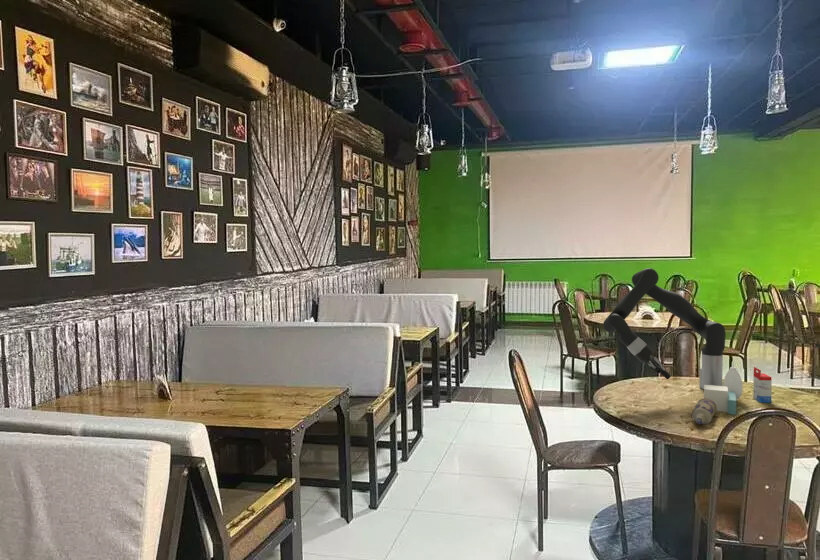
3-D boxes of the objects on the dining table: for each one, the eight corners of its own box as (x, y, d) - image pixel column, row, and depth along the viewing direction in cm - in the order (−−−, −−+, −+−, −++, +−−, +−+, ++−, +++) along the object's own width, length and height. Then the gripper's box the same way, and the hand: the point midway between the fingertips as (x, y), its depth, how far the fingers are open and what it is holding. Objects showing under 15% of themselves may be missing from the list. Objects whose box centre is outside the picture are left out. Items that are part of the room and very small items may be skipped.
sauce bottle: (741, 399, 267) (742, 360, 266) (743, 403, 260) (743, 363, 259) (722, 398, 270) (722, 359, 269) (723, 402, 263) (723, 362, 262)
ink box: (771, 403, 260) (772, 370, 259) (759, 402, 261) (760, 370, 260) (764, 398, 269) (764, 366, 268) (752, 397, 270) (753, 366, 269)
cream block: (703, 409, 252) (704, 389, 251) (704, 404, 260) (704, 384, 259) (727, 412, 248) (727, 391, 247) (727, 406, 256) (727, 386, 255)
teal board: (727, 413, 245) (728, 399, 244) (726, 404, 259) (727, 391, 259) (736, 414, 243) (736, 400, 243) (734, 405, 258) (734, 391, 257)
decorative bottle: (697, 412, 248) (697, 396, 248) (717, 415, 244) (717, 399, 244) (686, 428, 227) (686, 411, 227) (708, 431, 223) (708, 414, 223)
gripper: (635, 351, 274) (664, 379, 269) (631, 357, 262) (661, 386, 258) (647, 341, 271) (676, 369, 266) (644, 346, 260) (674, 376, 255)
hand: (669, 377), depth 262 cm, fingers closed
